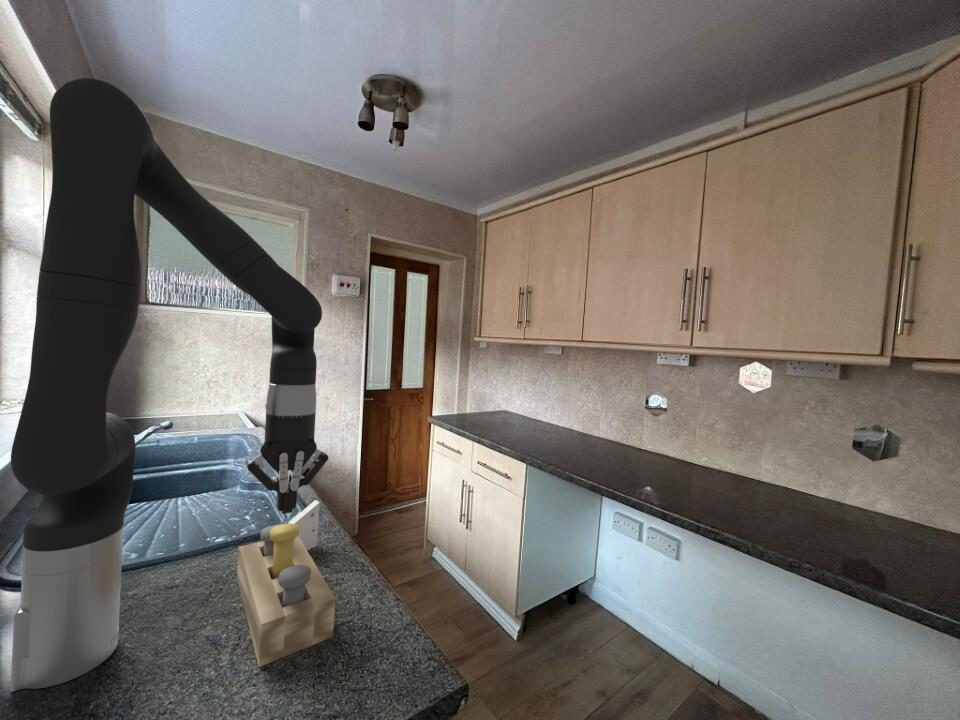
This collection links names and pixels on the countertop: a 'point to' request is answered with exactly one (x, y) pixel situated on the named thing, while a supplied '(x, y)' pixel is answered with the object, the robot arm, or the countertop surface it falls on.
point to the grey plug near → (294, 583)
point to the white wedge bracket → (308, 525)
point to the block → (263, 601)
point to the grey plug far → (267, 541)
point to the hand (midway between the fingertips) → (286, 511)
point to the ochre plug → (283, 546)
